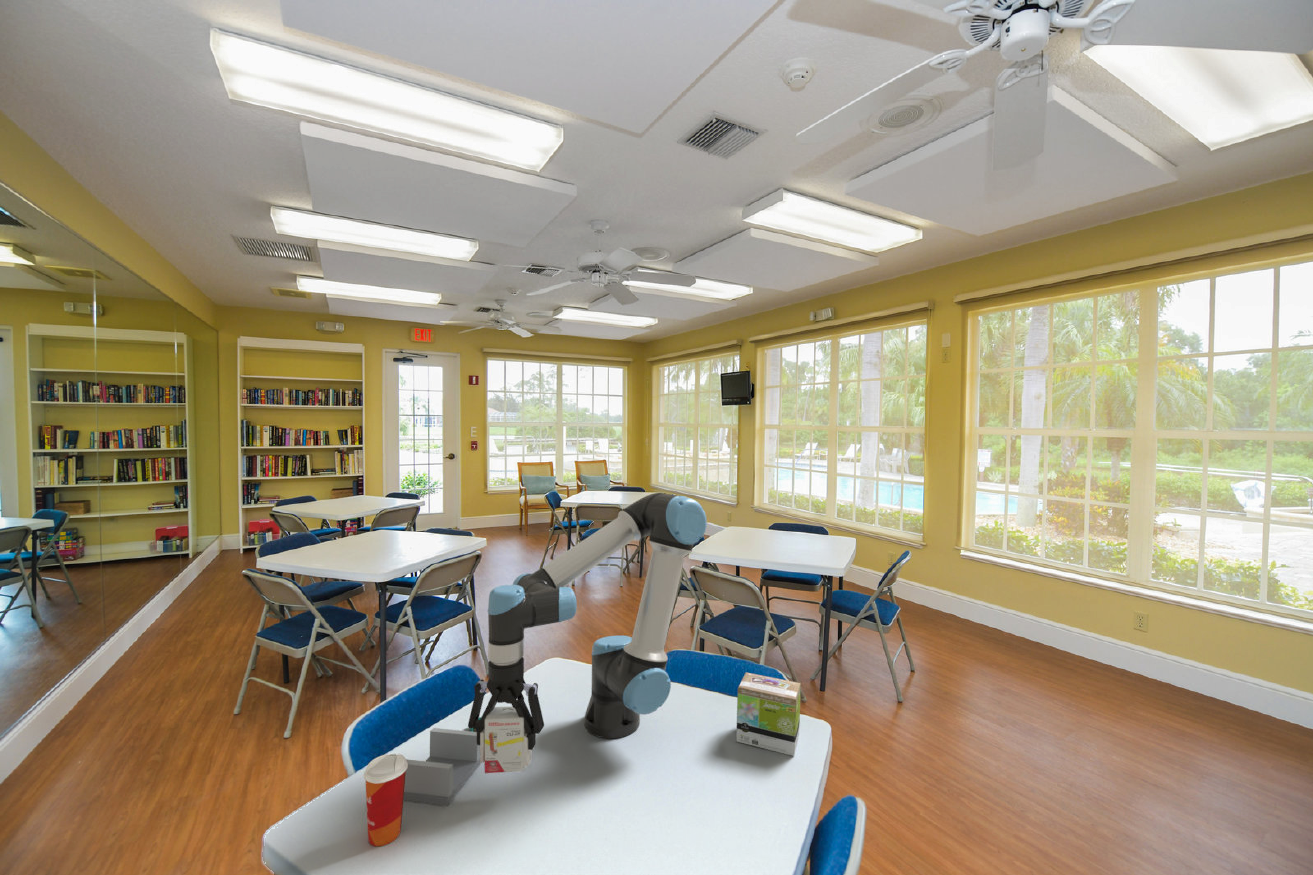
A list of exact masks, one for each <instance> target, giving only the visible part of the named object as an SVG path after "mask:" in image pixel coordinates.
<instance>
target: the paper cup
mask: <svg viewBox="0 0 1313 875" xmlns="http://www.w3.org/2000/svg"><path fill="white" fill-rule="evenodd" d="M407 767H408V763H407V761H406V757H405V755H403V754H401V753H398V754H396V753H390V754H387V753H385V754H382V755H380V756H377V757H375V758H374V759H372V760H371V761H370V762H369V763H368V764H367V765H366V768H365V771H364V772H363V780H365V796H366V797H365V799H366V821H367V822H366V824H367V825H366V826H367V838H368V843H369V844H370V846H372V847H384V846H386V845H390V844H391V843H393V842H394V841H395V840H396V839H398V837H399V836H400V835H401V831H402V830H401V829H402V821H403V820H402V819H403V810H404V801H403V799H404V787H405V775H406V770H407Z"/></svg>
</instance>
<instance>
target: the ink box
mask: <svg viewBox="0 0 1313 875" xmlns="http://www.w3.org/2000/svg"><path fill="white" fill-rule="evenodd" d="M527 708H528V706H527ZM528 709H529V708H528ZM525 734H526V731H525V729H524V718H523V717H519V716H518V714H517V712H516V710H515V708H513V706H495V707H494V709H493V710H492V711H491V712H490V714H488V715H487V716H486V718H485V762H484V774H498V773H512V772H513V773H515V772H524V771H525V768H526V767H524V735H525Z"/></svg>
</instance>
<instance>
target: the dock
mask: <svg viewBox="0 0 1313 875" xmlns="http://www.w3.org/2000/svg"><path fill="white" fill-rule="evenodd" d="M405 759H406V758H405ZM406 761H407V763H408V767H407V770H406V775H405V787H404V799H403V802H405V801H406V802H410V803H411V802H413V803H419V804H420V803H421V804H428V805H434V806H435V805H436V806H444V807H445V806H446V807H448V806H449V804H450V803H451V802H452V801H453V800H454V798H455V797H456V795H458V793H460V790H461V789H462V788H463V786H464V785H466V783H467V781H469V779H470V778H471V776H472V775H473V774H474V772H475V771H476V770H477V768H478V767H479V766H481V763H480V745H477V732H470V730H469V731H468V730H458V729H449V728H439V727H433V728H432V729H431V730H429V756H428V758H427V759H426V760H425V761H424V760H416V759H415V760H414V759H406Z"/></svg>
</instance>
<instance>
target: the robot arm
mask: <svg viewBox="0 0 1313 875" xmlns="http://www.w3.org/2000/svg"><path fill="white" fill-rule="evenodd" d="M707 523H708V521H707V514H706V512H705V510H704V508H703V507H702V505H701V504H700V503H699V502H698V501H697V500H695V499H693V498H690V497H688V496H684V495H675V494H670V493H664V492H654V493H650V494H648V495H645V496H643V497H642V498H640V499H638V500H636V501H634V502H633V503H631V504H630V505H628V506H626V507H625V508H623V509H621V510H620V511H618V515H617V517H616V518H614V519H613V520H612V521H610V522H609V523H606V525H605V526H603V527H601V528H599V529H598V530H597V531H595V532H594V533H592V534H591V535H589V536H588V537H586V538H584V539H583V540H581V541H580V542H578V543H577V544H575V545H574V546H572V547H571V548H570V549H567V551H565V552H563V553H562V554H561V555H559V556H557V557H555V558H554V559H553V560H551V561H550V562H548V563H547V564H546V565H543V567H541V568H539V569H538V570H536V571H535V572H533V573H523V574H522V573H521V574H520V575H518V576H517V577H516V578H515V579H514V580H513V582H512V584H510V585H509V584H504V585H499V586H496V587H494V588H492V589H491V591H490V592H489V595H488V605H487V606H488V607H487V614H488V616H487V618H488V624H487V625H488V646H487V648H488V649H487V650H488V651H487V652H488V653H487V659H488V662H487V664H488V665H487V668H488V670H487V676H488V680H484V679H483V678H481V679H479V680H478V681H477V682H476V684H474V687H473V688H474V697H473V698H474V699H473V702H472V706H471V712H470V715H469V718H468V723H467V727H468V728H469V729H470V728H474V729H476V731H477V745H480V764H485V718H486V716H487V715H488V714H490V712H491V711H492V710H493V709H494V707H496V705H497V703H498V704H499V703H500V704H502V703H505V704H510V705H511V707H513V708H515V710H516V712H517V714H518V716H519V717H523V718H524V729H525V731H526V734H525V735H524V767H525V768H528V766H529V764H530V763H531V761H532V758H533V757H532V756H533V755H532V753H533V752H532V751H533V750H534V748H535V747H536V740H537V738H536V736H537V735H539V734H540V733H541V731H542V730H543V729H544V727H545V722H544V717H543V712H542V708H541V705H540V701H539V700H540V698H539V696H538V690H539V684H538V683H537V682H534V683H533V684H529V683H526V681H525V678H524V675H525V658H524V656H525V654H524V653H525V643H524V642H525V639H524V638H525V634H524V633H525V629H529V628H534V627H541V626H545V625H551V624H556V623H559V624H560V623H562V622H565V621H568V620H571V619H573V618H574V617H575V615H576V613H577V606H578V603H577V602H578V601H577V597H576V594H575V591H574V590H573V588H571V587H569V585H570V584H572V583H573V582H575V581H576V580H577V579H579V578H581V577H582V576H583V575H584V574H587V573H588V572H590V570H592V569H593V568H595V567H596V566H598V565H599V564H601V563H602V562H603V561H605V560H606V559H608V558H609V557H611V556H612V555H614V554H615V553H617V552H618V551H619V550H621V549H622V548H624V547H625V546H627V545H628V544H629V543H631V542H632V541H635V542H639V541H640V540H642V539H643V538H645V537H648V536H649V538H648V543H649V544H650V546H651V548H652V551H651V554H650V555H651V556H650V560H649V563H648V568H647V573H646V576H645V580H644V585H643V589H642V594H641V599H640V602H639V607H638V611H637V616H636V619H635V623H634V627H633V632H632V637H631V636H629V635H608V636H603V637H601V638H598V639H597V640H595V641H594V642H593V644H592V650H591V695H590V698H589V700H588V704H587V707H586V710H585V713H584V728H585V730H586V731H587V732H588V733H590V734H591V735H593V736H595V737H599V738H604V739H618V738H619V739H620V738H622V737H626V736H629V735H631V734H633V733H634V732H635V731H637V730H638V728H639V727H640V721H641V719H640V718H641V715H642V716H643V715H650V714H653V713H654V712H656V711H657V710H658V709H659V708H661V707H662V706H663V705H664V704H665V702H666V701H667V700H668V698H669V695H670V692H671V688H672V687H671V686H672V682H671V679H670V677H669V674H668V672H666V669H667V664H668V661H669V660H668V659H669V658H668V655H667V653H666V651H665V650H664V649H665V645H666V641H667V637H668V632H669V627H670V624H671V619H672V614H673V610H674V606H675V601H676V597H677V593H678V587H679V583H680V579H681V576H682V575H681V574H682V570H683V567H684V561H685V557H687V555H689V554H691V553H692V551H693V547H694V545H695V544H696V543H698V542H699V541H700V539H702V538H703V537H704V535H705V533H706V530H707ZM487 690H488V691H489V693H490V694H491V696H490V699H489V701H488V702H487V705H486V707H485V708H484V711H483V713H482V715H481V719H480V720H478V719H479V718H480V714H481V711H482V707H483V702H484V698H485V694H486V693H485V692H487ZM523 691H525V695H526V697H527V702H528V706H529V708H527V707H528V706H527V704H526V702H525V697H524V695H523Z"/></svg>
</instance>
